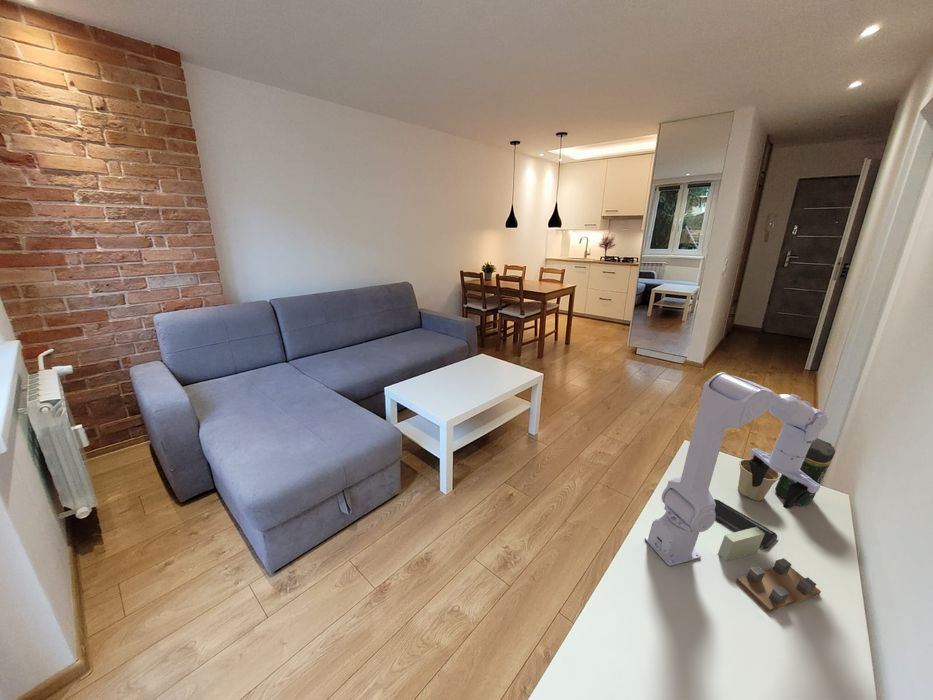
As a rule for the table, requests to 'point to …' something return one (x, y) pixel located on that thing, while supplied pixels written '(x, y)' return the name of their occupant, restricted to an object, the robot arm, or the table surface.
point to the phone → (741, 523)
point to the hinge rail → (777, 586)
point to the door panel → (741, 543)
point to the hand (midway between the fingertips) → (771, 496)
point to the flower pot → (746, 481)
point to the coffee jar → (810, 469)
